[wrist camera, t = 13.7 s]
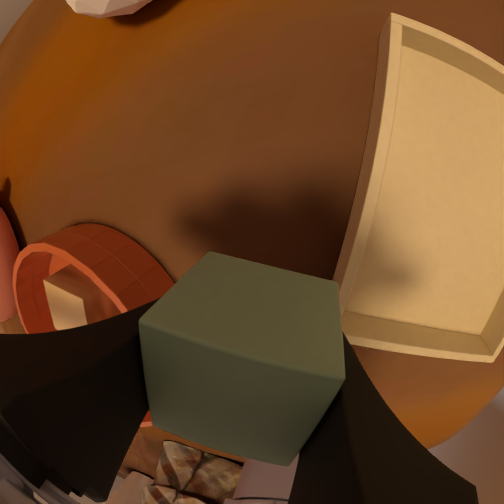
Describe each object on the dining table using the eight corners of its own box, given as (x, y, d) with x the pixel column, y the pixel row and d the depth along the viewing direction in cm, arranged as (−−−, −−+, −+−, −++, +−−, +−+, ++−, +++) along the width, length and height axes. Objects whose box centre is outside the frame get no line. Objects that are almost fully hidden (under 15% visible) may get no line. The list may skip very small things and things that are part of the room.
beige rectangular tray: (478, 338, 15) (492, 363, 12) (322, 310, 17) (322, 339, 14) (541, 118, 9) (567, 118, 6) (379, 33, 11) (391, 11, 8)
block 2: (303, 375, 10) (288, 467, 6) (199, 347, 11) (151, 426, 7) (338, 281, 9) (347, 378, 5) (208, 249, 9) (136, 319, 5)
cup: (117, 465, 40) (91, 506, 28) (135, 463, 36) (104, 513, 24) (155, 489, 41) (133, 530, 29) (178, 489, 37) (154, 538, 25)
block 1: (125, 319, 21) (93, 350, 17) (86, 303, 21) (54, 328, 17) (120, 271, 19) (82, 299, 15) (80, 257, 20) (42, 279, 16)
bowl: (196, 412, 24) (177, 450, 19) (66, 351, 26) (41, 374, 22) (207, 250, 17) (169, 286, 13) (40, 208, 20) (-2, 224, 15)
